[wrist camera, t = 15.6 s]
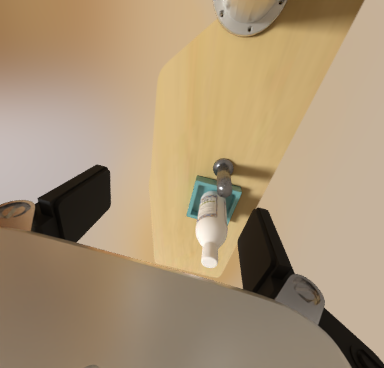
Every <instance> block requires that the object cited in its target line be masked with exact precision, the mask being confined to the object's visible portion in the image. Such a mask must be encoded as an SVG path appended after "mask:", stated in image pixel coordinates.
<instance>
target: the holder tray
mask: <svg viewBox="0 0 384 368" xmlns="http://www.w3.org/2000/svg"><path fill="white" fill-rule="evenodd" d="M208 191H217V180H213V179H209V178H205V177H201V176H198V175H197V178H196V182H195V185H194V189H193V193H192V197H191V201H190V204H189V208H188V212H187V216H188V217H191V218H195V219H197V217H198V211H199V206H200V200H201V197H202V195H203V194H204V193H206V192H208ZM241 193H242V191H241V187H239V186H235V185H232V194H231V195H230V196H229V197H226V198H225V200H226V212H227V226H228V223H229V221H230V219H231V216H232V214H233V212H234V209H235V207H236V205H237V203H238V200H239V198H240V196H241Z"/></svg>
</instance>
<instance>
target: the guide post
mask: <svg viewBox="0 0 384 368" xmlns="http://www.w3.org/2000/svg"><path fill="white" fill-rule="evenodd" d="M213 171H214V173H215V175H216V176H217V194H218V195H219V196H220V197H223V198H226V197H229V196H230V195H231V194H232V184H231V177H230V175H231V174H232V172H233V164H232V162H231V161H230V160H228V159H225V158H222V159H219V160H217V161H216V162H215V163H214V166H213Z"/></svg>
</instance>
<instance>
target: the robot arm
mask: <svg viewBox="0 0 384 368" xmlns="http://www.w3.org/2000/svg"><path fill="white" fill-rule="evenodd" d="M279 2H281V5H279ZM286 2H287V0H213V6H214V10H215V13H216V16H217V18H218V20H219V22H220V23H221V25H222V26H223V27H224V28H225V29H226V30H227V31H228V32H230V33H231V34H233V35H236V36H240V37H248V36H252V35H255V34H258V33H260V32H262V31H263V30H264V29H266V28H267V27H268V26H269V25H270V24H271V23H272V22H273V21H274V20H275V19H276V18H277V17H278V15H279V14H280V12H281V11H282V9H283V8H284V6H285V4H286ZM221 14H223V17H221ZM248 29H251V31H250V32H248ZM110 205H111V194H110V171H109V170H108V168H107V167H105V166H101V165H95V166H93V167H92V168H90V169H88V170H86V171H85V172H83V173H81V174H79V175H78V176H76V177H74V178H72V179H71V180H69V181H67V182H65V183H64V184H62V185H60V186H59V187H57V188H55V189H53V190H51V191H50V192H48V193H46V194H44V195H43V196H41V197H39V198H38V203H36V204H34V203H33V202H31V201H27V200H16V201H10V202H7V203H3V204H1V205H0V368H384V364H383V362H382V361H381V360H380V359H379V358H378V356H377V355H376V354H375V353H374V352H373V351H372V350H371V349H369V348H368V347H367V346H366V345H365V344H364V343H363V342H362V341H361V340H359V339H358V338H357V337H356V336H355V335H354V334H353V333H352V332H350V331H349V330H348V329H347V328H346V327H345V326H344V325H343V324H342V323H341V322H339V321H338V320H337V319H336V318H335V317H334V316H333V315H332V314H330V312H328V311H327V310H326V309H325V308H324V305H325V300H324V297H323V295H322V293H321V292H320V290H319V289H318V288H317V286H316V285H315V284H314V283H313V282H311V281H310V280H309V279H307V278H306V277H304V276H302V275H298V274H295V273H294V271H293V269H292V266H291V264H290V261H289V259H288V257H287V254H286V252H285V249H284V247H283V245H282V242H281V240H280V238H279V235H278V233H277V231H276V228H275V226H274V224H273V221H272V219H271V216H270V214H269V212H268V210H266V209H262V208H257V209H254V210H253V211H252V213H251V215H250V217H249V219H248V221H247V223H246V225H245V227H244V229H243V231H242V233H241V235H240V237H239V239H238V251H239V259H240V267H241V275H242V283H243V289H240V288H237V287H233V286H230V285H227V284H223V283H220V282H217V281H213V280H209V279H206V278H203V277H199V276H195V275H192V274H188V273H185V272H181V271H178V270H174V269H171V268H167V267H163V266H160V265H156V264H152V263H149V262H145V261H141V260H138V259H134V258H131V257H127V256H124V255H120V254H116V253H112V252H109V251H105V250H101V249H97V248H94V247H90V246H86V245H83V244H79V243H76V242H77V241H78V240H79V239H80V238H81V237H82V236H83V235H84V234H85V233H86V232H87V231H88V230H89V229H90V228H91V227H92V226H93V225H94V224H95V223H96V222H97V221H98V220H99V219H100V218H101V216H102V215H103V214H104V213H105V212H106V211H107V210H108V209H109V208H110Z"/></svg>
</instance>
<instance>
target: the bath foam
mask: <svg viewBox="0 0 384 368" xmlns="http://www.w3.org/2000/svg"><path fill="white" fill-rule="evenodd" d="M227 231H228V228H227V212H226V200H225V198H223V197H220V196H219V195H218V194H217V191H208V192H206V193H204V194H203V195H202V197H201V200H200V206H199V211H198V217H197V223H196V236H197V239H198V241H199V243H200V244H201V246H202V247H203V250H202V259H201V262H202V264H203V265H204V266H205V267H207V268H214V267H216V266H217V264H218V248H219V247H220V246H221V245H222V244H223V243H224V241H225V240H226V237H227Z"/></svg>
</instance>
